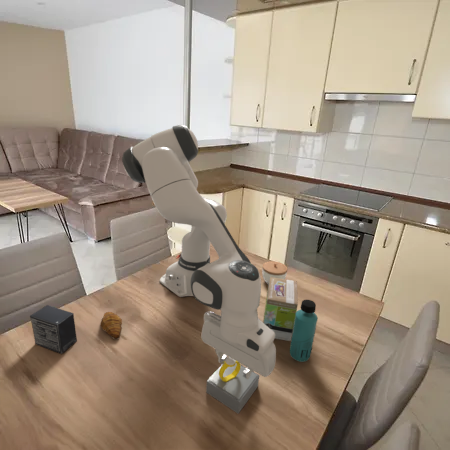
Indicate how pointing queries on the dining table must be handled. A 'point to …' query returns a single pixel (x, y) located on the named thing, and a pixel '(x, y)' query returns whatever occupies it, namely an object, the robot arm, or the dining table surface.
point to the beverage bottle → (303, 331)
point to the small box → (54, 328)
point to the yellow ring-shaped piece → (228, 363)
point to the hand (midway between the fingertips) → (234, 368)
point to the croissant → (112, 324)
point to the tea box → (281, 307)
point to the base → (232, 388)
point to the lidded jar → (273, 270)
